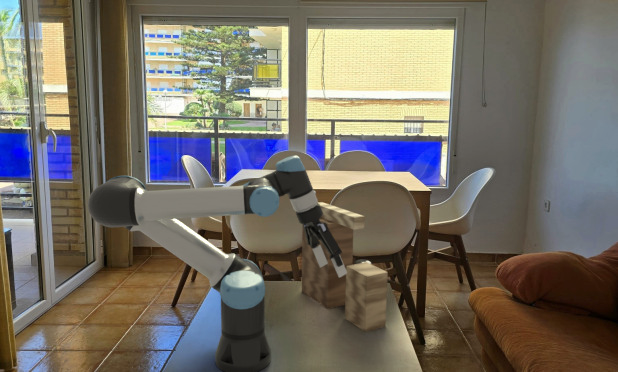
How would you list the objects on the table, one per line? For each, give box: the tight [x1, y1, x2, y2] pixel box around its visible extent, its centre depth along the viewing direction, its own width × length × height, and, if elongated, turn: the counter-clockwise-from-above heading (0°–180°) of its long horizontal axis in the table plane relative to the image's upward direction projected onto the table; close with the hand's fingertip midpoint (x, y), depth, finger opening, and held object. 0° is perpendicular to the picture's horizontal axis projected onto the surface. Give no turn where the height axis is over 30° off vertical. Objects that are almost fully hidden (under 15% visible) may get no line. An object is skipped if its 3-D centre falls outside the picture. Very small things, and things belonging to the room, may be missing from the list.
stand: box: [301, 217, 354, 310], centre depth 171 cm, size 18×10×30 cm, turn 31°
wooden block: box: [317, 201, 366, 231], centre depth 163 cm, size 26×4×4 cm, turn 31°
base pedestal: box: [344, 262, 388, 333], centre depth 152 cm, size 11×8×18 cm
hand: (333, 270), depth 143 cm, fingers open, 13 cm apart
